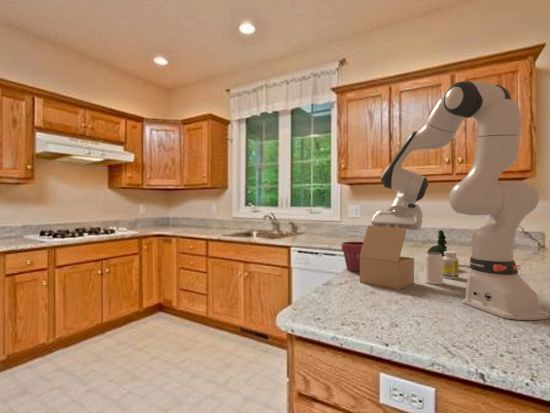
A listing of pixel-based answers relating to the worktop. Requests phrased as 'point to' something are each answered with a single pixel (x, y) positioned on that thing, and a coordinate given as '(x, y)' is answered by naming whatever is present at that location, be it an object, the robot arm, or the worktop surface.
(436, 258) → the can
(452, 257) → the pill bottle
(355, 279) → the worktop surface
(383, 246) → the flap
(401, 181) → the robot arm
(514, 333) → the worktop surface
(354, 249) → the plant pot
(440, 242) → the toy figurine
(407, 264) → the carton
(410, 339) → the worktop surface
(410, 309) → the worktop surface
